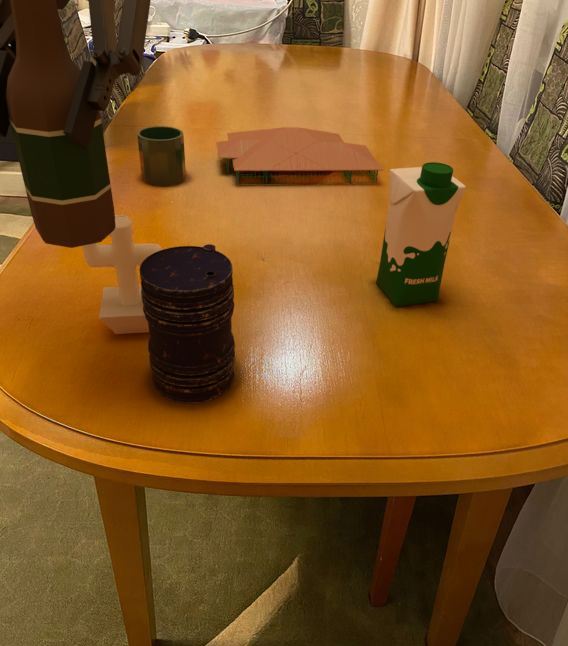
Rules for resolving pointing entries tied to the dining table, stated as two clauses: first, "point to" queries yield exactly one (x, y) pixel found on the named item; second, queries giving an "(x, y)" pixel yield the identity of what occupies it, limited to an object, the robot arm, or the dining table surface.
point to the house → (295, 153)
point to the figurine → (121, 278)
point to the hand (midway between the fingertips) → (33, 134)
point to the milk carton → (418, 232)
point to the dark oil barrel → (189, 322)
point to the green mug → (162, 155)
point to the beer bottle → (55, 134)
